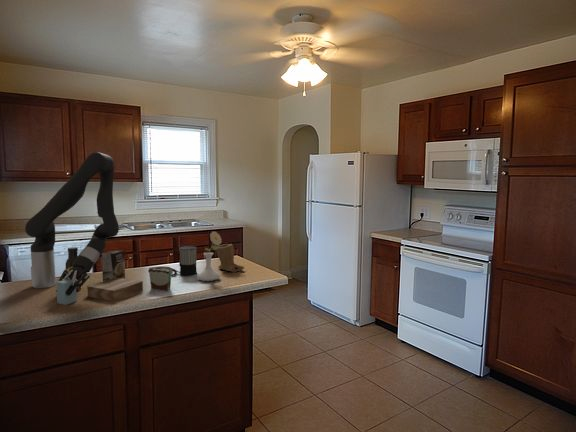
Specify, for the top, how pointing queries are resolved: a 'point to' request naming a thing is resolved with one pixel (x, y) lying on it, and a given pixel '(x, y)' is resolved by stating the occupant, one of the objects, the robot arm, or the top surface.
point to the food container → (160, 278)
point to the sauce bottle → (71, 260)
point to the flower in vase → (208, 272)
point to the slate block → (61, 290)
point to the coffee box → (113, 265)
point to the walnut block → (115, 289)
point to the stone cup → (227, 258)
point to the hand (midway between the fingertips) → (62, 293)
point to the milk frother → (187, 261)
